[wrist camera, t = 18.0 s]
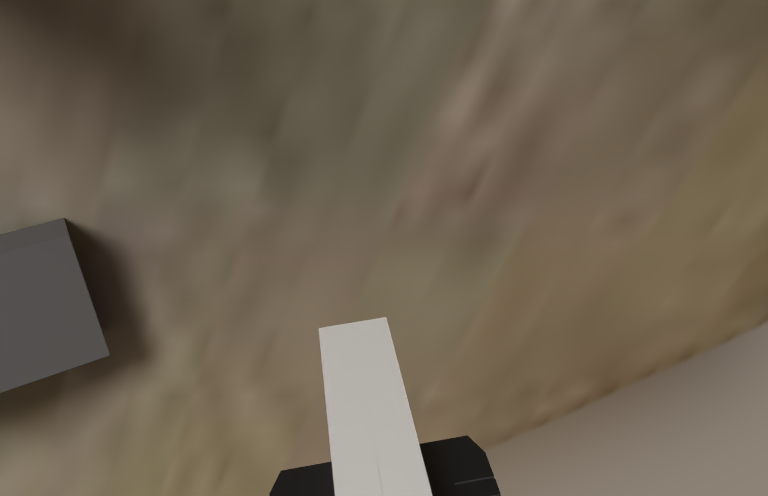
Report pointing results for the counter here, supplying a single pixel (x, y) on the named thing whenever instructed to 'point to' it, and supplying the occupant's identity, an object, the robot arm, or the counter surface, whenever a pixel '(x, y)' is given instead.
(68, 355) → the domino
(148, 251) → the counter surface
